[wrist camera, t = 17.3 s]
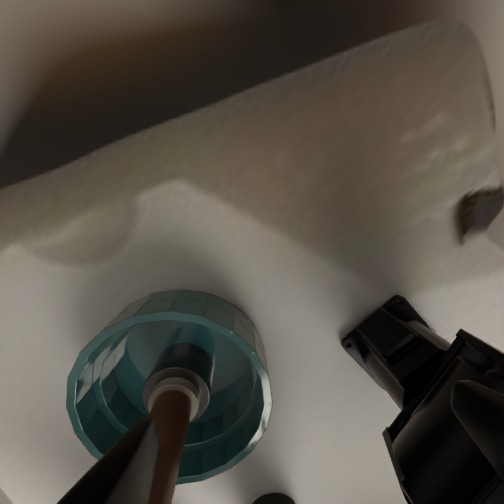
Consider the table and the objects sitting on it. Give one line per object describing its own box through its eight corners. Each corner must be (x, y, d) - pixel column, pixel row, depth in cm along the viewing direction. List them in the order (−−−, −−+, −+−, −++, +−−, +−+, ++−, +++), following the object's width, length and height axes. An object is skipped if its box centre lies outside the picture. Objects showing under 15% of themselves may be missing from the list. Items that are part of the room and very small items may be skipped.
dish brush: (225, 369, 21) (208, 606, 9) (185, 404, 21) (116, 675, 9) (183, 332, 20) (99, 538, 8) (142, 369, 21) (3, 619, 8)
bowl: (296, 362, 22) (311, 403, 18) (187, 454, 23) (175, 514, 19) (183, 252, 19) (167, 268, 15) (67, 363, 21) (21, 407, 16)
